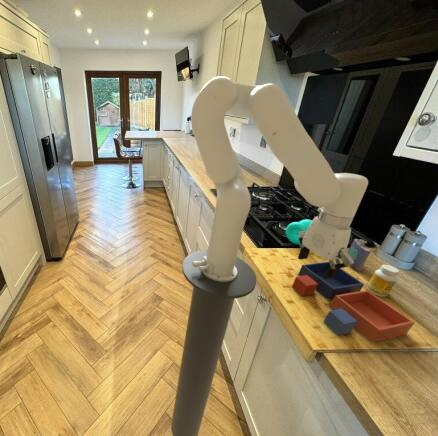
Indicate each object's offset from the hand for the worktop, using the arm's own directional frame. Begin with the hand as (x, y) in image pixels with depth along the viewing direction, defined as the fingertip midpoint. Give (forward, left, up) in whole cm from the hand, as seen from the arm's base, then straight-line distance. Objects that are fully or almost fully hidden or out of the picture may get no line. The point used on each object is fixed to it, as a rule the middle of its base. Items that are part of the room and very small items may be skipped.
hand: (314, 267), depth 73 cm
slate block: (-3, -14, -10) cm, 17 cm away
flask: (+31, +9, -10) cm, 34 cm away
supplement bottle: (+24, -5, -10) cm, 27 cm away
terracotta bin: (+8, -13, -10) cm, 18 cm away
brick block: (-1, 0, -10) cm, 10 cm away
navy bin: (+10, +1, -10) cm, 14 cm away
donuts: (+23, +27, -10) cm, 37 cm away
